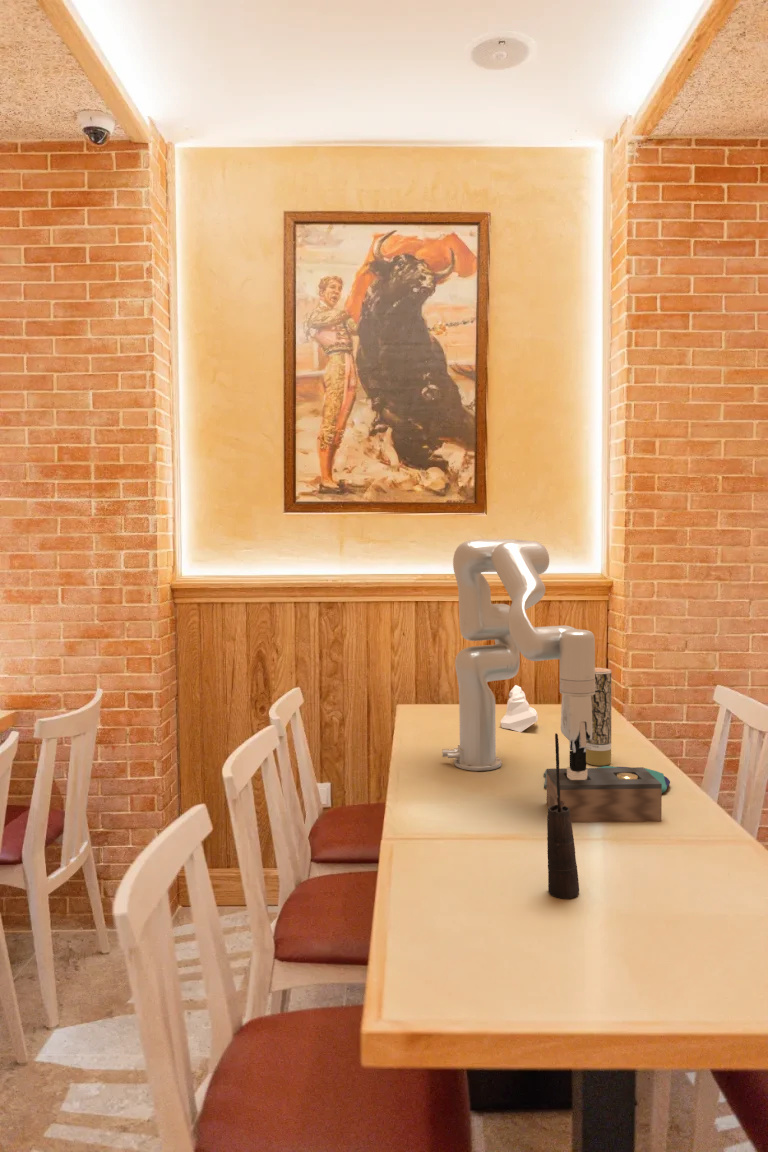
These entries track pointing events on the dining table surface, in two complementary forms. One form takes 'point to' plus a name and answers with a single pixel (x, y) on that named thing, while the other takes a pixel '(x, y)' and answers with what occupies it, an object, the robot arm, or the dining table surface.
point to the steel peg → (576, 774)
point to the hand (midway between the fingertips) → (577, 769)
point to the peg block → (608, 795)
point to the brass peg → (627, 776)
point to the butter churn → (561, 847)
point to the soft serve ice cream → (518, 712)
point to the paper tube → (600, 720)
